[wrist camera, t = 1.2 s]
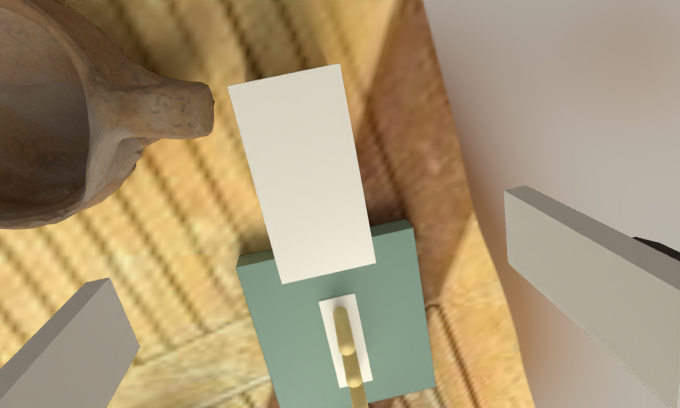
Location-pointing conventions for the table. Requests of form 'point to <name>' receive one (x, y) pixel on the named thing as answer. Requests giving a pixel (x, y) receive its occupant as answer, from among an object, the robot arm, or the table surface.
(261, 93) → the block
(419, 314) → the header board
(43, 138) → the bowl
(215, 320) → the table surface
